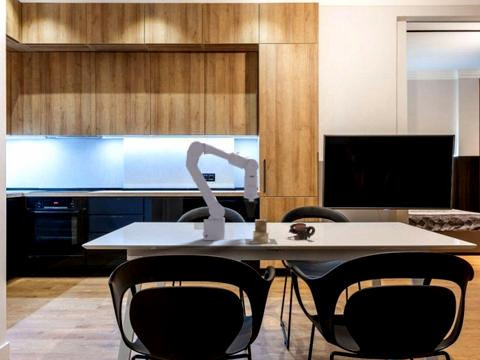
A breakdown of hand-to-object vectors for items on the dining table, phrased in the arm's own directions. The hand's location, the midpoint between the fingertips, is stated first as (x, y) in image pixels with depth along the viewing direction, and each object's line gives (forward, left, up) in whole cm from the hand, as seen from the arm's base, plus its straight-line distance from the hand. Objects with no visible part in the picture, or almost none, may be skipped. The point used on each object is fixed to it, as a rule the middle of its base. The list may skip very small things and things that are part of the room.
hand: (250, 216), depth 185 cm
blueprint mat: (+4, -10, -10) cm, 15 cm away
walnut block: (+4, -9, -5) cm, 11 cm away
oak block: (+4, -9, -9) cm, 14 cm away
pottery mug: (+23, 0, -10) cm, 25 cm away
